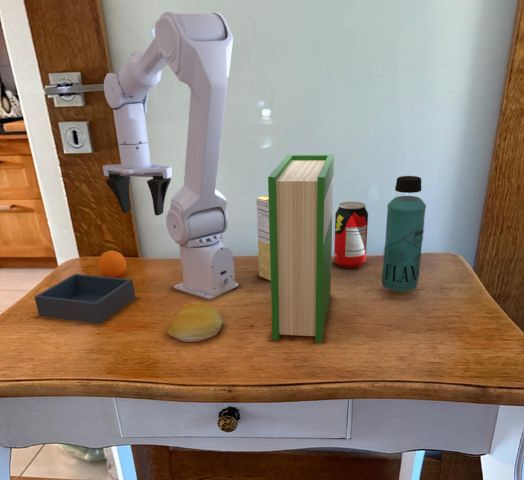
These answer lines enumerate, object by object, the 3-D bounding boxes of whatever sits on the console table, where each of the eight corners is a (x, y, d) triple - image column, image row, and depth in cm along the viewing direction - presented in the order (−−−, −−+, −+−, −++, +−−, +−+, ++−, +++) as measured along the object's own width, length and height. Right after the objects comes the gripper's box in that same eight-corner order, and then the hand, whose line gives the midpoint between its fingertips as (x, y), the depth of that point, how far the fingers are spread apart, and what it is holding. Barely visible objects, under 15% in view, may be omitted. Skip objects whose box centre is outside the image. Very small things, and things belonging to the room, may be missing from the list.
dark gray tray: (135, 299, 100) (132, 279, 98) (100, 325, 90) (96, 303, 89) (78, 292, 103) (74, 273, 102) (39, 317, 94) (34, 296, 92)
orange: (135, 271, 110) (124, 244, 108) (114, 282, 106) (102, 254, 104) (120, 272, 113) (109, 246, 111) (99, 283, 110) (87, 255, 108)
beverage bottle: (376, 297, 97) (384, 180, 87) (384, 283, 102) (392, 172, 93) (414, 301, 94) (427, 181, 85) (420, 287, 100) (432, 173, 90)
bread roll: (162, 343, 84) (158, 319, 82) (180, 318, 92) (177, 295, 90) (214, 345, 83) (212, 321, 81) (228, 320, 90) (226, 297, 88)
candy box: (292, 265, 113) (291, 189, 105) (306, 270, 110) (306, 192, 102) (258, 276, 108) (254, 197, 100) (272, 282, 105) (269, 200, 98)
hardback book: (321, 342, 82) (324, 177, 71) (272, 339, 84) (268, 177, 72) (330, 296, 98) (334, 154, 86) (288, 295, 99) (287, 154, 88)
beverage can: (364, 258, 115) (367, 200, 109) (366, 269, 109) (369, 208, 103) (333, 259, 115) (335, 201, 110) (334, 269, 110) (336, 208, 104)
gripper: (89, 145, 105) (101, 215, 112) (155, 146, 101) (164, 220, 107) (110, 139, 111) (120, 207, 118) (174, 141, 107) (181, 211, 113)
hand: (142, 213), depth 113 cm, fingers open, 7 cm apart
